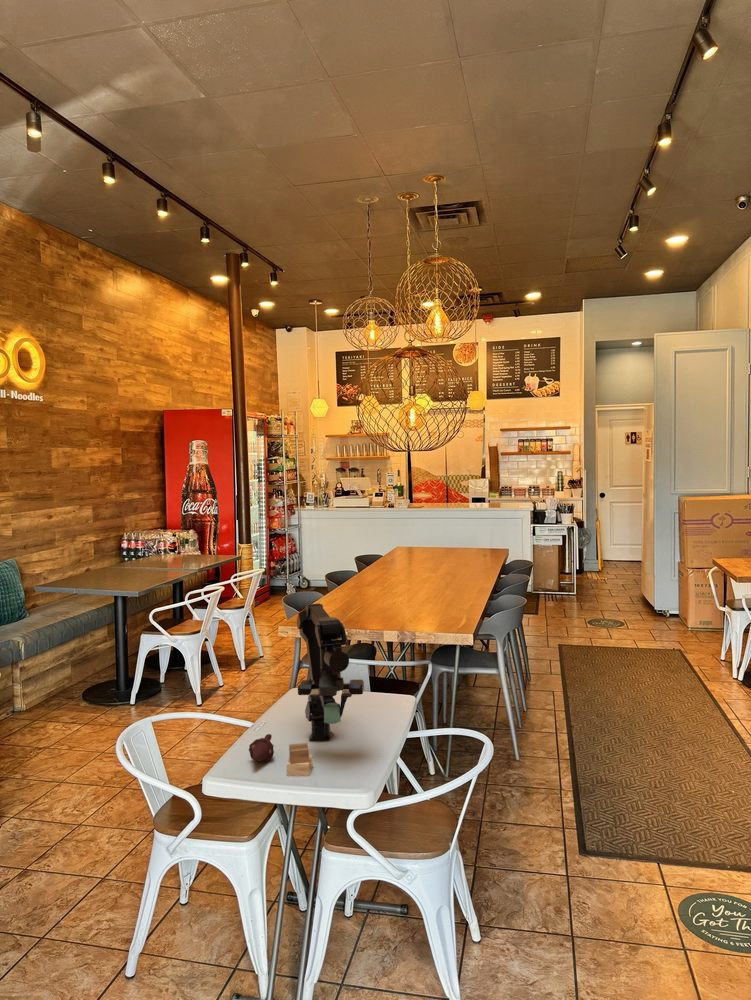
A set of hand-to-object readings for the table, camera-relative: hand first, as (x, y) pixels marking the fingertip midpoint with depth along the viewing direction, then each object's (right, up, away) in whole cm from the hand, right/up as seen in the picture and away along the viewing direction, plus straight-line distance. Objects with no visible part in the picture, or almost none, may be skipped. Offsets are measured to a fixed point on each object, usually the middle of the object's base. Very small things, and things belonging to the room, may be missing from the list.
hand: (332, 716), depth 203 cm
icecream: (-20, -13, -2) cm, 24 cm away
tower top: (-9, -9, -10) cm, 16 cm away
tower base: (-8, -12, -10) cm, 18 cm away
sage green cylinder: (0, -1, 0) cm, 1 cm away
